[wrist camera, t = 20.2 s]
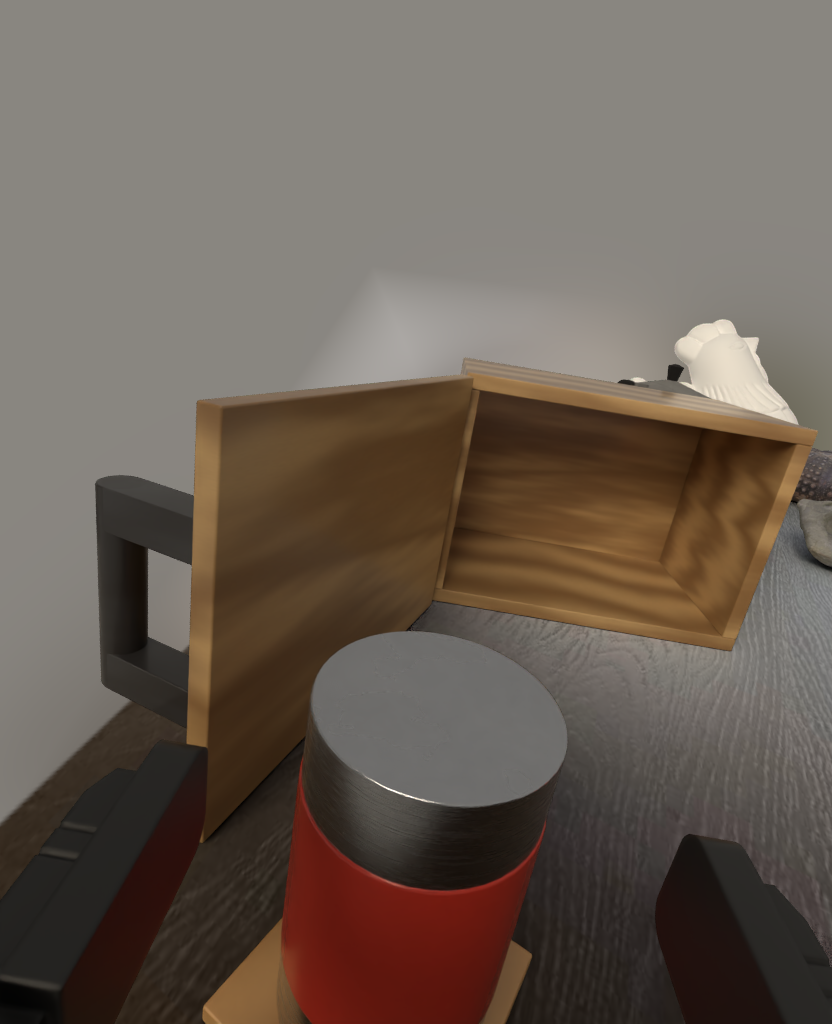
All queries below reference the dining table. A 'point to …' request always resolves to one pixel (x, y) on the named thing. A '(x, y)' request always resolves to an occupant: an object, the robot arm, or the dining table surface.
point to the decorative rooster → (729, 369)
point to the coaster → (253, 985)
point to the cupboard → (615, 504)
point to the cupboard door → (278, 559)
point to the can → (414, 830)
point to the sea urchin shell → (815, 478)
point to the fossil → (817, 528)
